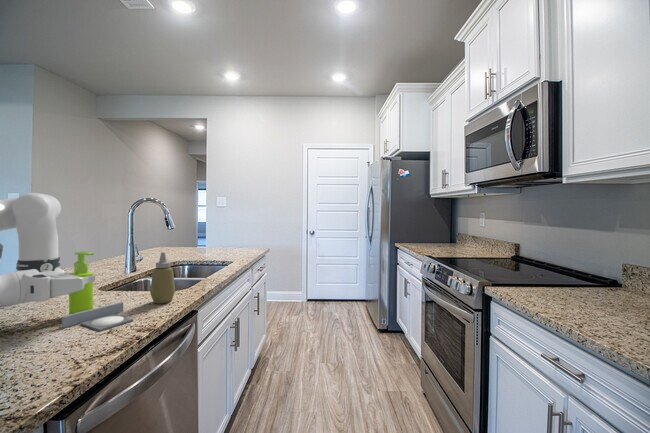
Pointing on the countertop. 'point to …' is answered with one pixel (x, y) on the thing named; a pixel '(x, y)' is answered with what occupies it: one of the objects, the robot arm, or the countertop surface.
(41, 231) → the robot arm
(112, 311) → the acrylic wall
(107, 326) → the mat
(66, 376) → the countertop surface
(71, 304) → the soap dispenser
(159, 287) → the squeeze bottle
